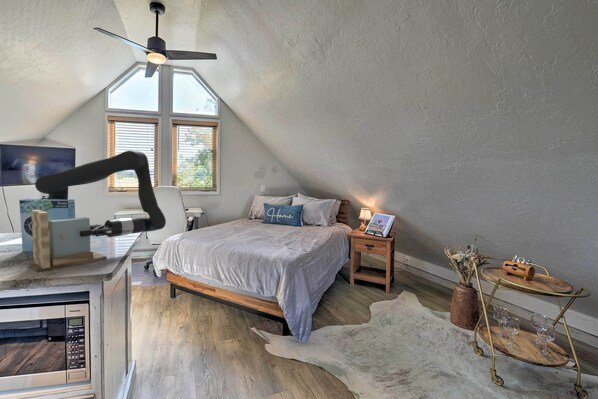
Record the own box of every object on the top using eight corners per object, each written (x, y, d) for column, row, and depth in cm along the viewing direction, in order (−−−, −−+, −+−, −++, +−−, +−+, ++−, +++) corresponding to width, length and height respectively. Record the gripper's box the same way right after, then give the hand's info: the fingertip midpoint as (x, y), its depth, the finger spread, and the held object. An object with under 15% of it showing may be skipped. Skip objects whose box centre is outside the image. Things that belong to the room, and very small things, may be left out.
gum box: (77, 249, 137) (75, 199, 135) (70, 252, 132) (68, 200, 130) (30, 249, 135) (27, 198, 133) (21, 252, 130) (18, 199, 128)
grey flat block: (50, 261, 115) (48, 220, 114) (86, 255, 125) (85, 217, 123) (55, 264, 112) (53, 222, 111) (91, 257, 122) (90, 218, 120)
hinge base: (29, 265, 113) (26, 210, 111) (95, 254, 131) (94, 206, 129) (38, 272, 106) (35, 213, 105) (106, 258, 124) (105, 208, 122)
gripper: (111, 217, 136) (68, 221, 123) (127, 220, 128) (82, 225, 115) (112, 233, 137) (69, 239, 124) (127, 238, 129) (83, 244, 116)
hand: (75, 232), depth 119 cm, fingers open, 8 cm apart
